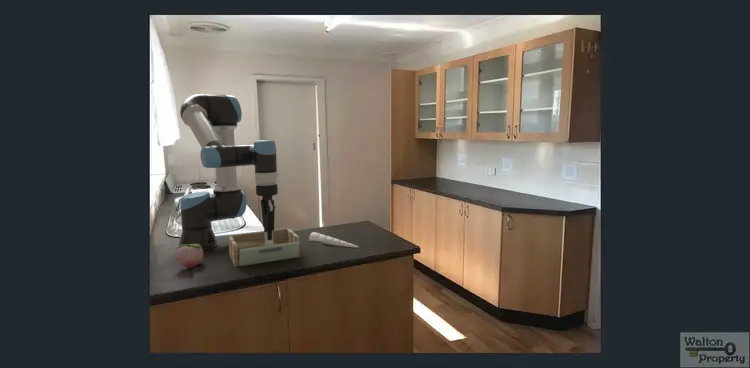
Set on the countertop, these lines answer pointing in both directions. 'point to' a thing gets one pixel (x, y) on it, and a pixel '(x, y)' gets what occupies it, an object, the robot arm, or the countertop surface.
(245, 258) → the pale green panel
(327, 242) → the unicorn horn
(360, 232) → the countertop surface
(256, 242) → the box
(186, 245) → the decorative fruit
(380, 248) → the countertop surface
